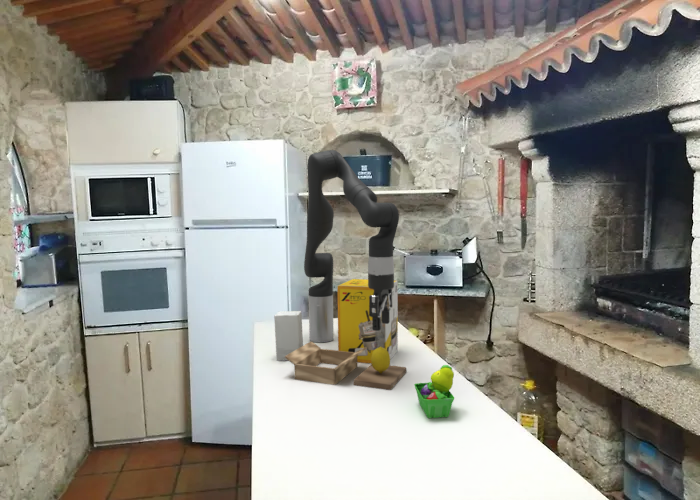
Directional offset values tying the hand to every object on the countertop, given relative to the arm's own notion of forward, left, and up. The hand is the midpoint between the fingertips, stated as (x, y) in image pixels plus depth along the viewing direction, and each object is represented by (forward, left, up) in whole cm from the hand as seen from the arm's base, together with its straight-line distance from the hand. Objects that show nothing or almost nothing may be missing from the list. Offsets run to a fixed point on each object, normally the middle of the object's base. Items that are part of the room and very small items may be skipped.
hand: (381, 326), depth 145 cm
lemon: (0, 0, -14) cm, 14 cm away
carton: (+1, -17, -16) cm, 23 cm away
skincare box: (-8, -35, -16) cm, 39 cm away
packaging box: (-20, -11, -16) cm, 28 cm away
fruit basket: (+17, +20, -16) cm, 31 cm away
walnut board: (0, 0, -16) cm, 16 cm away
